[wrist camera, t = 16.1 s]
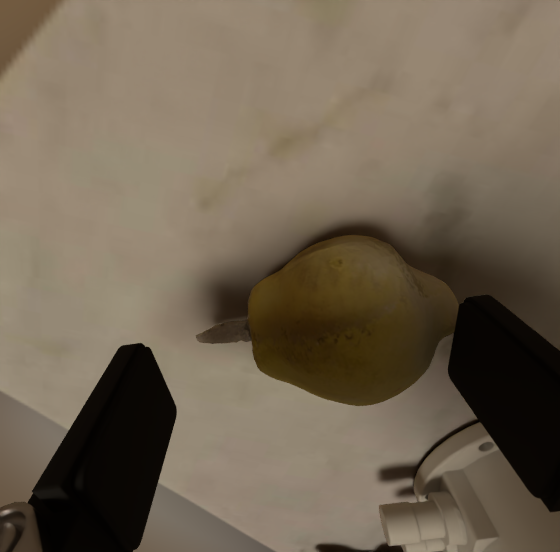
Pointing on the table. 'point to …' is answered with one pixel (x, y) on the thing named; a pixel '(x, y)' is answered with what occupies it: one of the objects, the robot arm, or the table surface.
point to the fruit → (345, 321)
